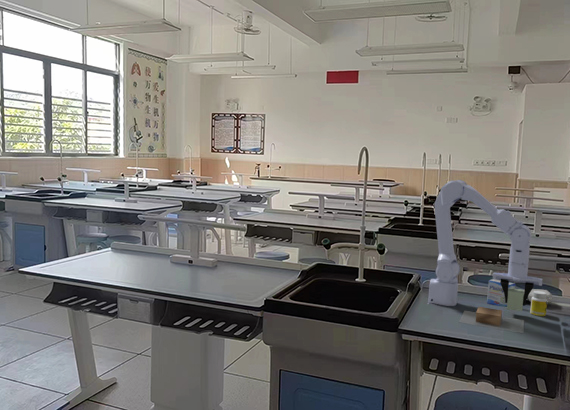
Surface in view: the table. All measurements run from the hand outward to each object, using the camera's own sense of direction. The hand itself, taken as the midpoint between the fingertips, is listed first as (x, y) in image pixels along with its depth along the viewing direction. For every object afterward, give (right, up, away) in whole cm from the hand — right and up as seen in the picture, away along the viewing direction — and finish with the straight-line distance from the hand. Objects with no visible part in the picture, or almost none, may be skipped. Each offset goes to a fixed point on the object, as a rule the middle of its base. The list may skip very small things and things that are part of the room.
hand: (515, 303), depth 161 cm
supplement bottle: (+9, -5, +3) cm, 11 cm away
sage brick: (0, -2, 0) cm, 2 cm away
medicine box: (+2, -4, +15) cm, 16 cm away
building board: (-10, -5, -7) cm, 13 cm away
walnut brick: (-11, -4, -6) cm, 14 cm away
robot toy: (+15, -4, +21) cm, 26 cm away
